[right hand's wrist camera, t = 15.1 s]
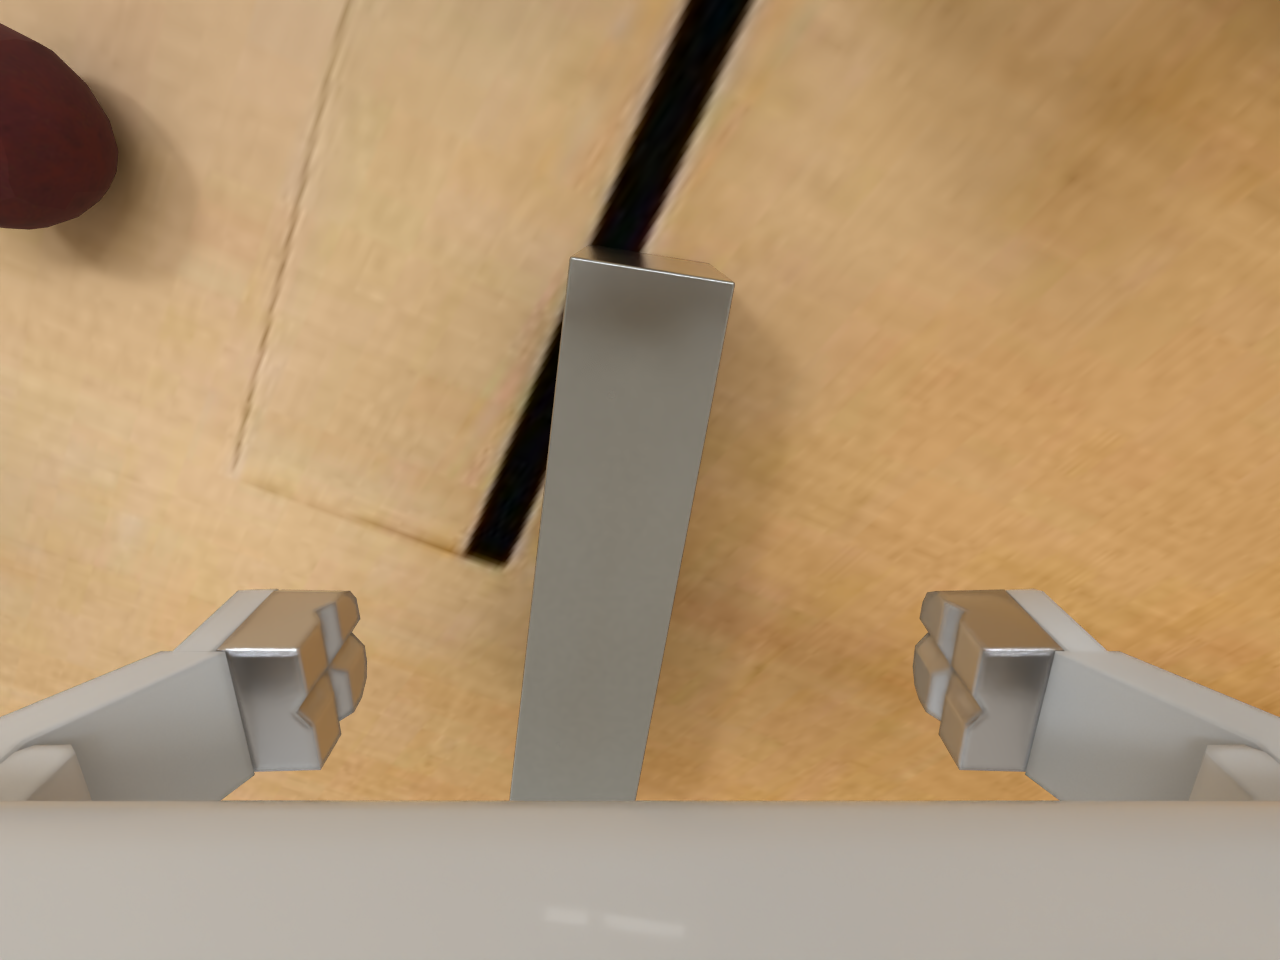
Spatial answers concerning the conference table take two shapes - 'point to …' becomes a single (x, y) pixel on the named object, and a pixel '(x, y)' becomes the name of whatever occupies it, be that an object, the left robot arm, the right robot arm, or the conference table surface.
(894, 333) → the conference table surface
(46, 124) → the dark red ball
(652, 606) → the bar
